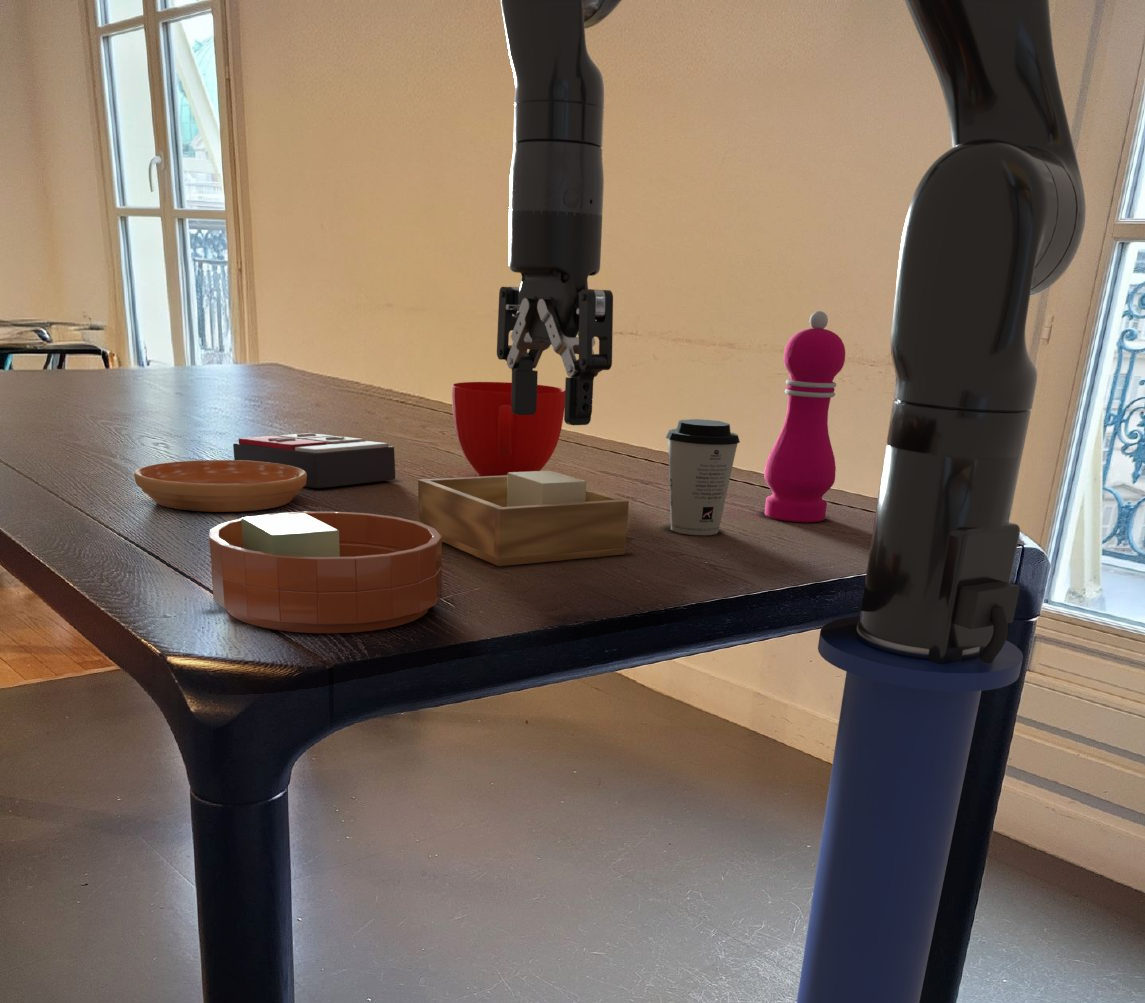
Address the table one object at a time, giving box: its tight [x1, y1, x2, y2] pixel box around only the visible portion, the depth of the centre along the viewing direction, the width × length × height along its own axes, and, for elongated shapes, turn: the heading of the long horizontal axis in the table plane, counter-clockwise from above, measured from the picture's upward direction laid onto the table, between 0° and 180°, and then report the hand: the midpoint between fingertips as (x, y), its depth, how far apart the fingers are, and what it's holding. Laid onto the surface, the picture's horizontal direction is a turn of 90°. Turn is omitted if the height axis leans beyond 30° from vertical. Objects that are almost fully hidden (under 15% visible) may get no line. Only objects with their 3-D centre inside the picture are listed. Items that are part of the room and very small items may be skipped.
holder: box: [417, 475, 629, 567], centre depth 100 cm, size 15×13×5 cm
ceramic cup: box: [451, 381, 565, 477], centre depth 130 cm, size 13×17×10 cm
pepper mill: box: [763, 310, 846, 523], centre depth 116 cm, size 7×7×20 cm
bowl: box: [208, 511, 443, 635], centre depth 78 cm, size 15×15×5 cm
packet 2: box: [507, 470, 587, 507], centre depth 101 cm, size 6×4×5 cm
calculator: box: [232, 432, 396, 489], centre depth 127 cm, size 11×4×15 cm
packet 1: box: [240, 514, 340, 557], centre depth 77 cm, size 6×4×5 cm
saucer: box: [133, 459, 307, 513], centre depth 111 cm, size 16×16×3 cm
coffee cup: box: [665, 418, 741, 536], centre depth 108 cm, size 7×7×10 cm
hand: (549, 419), depth 98 cm, fingers open, 8 cm apart
